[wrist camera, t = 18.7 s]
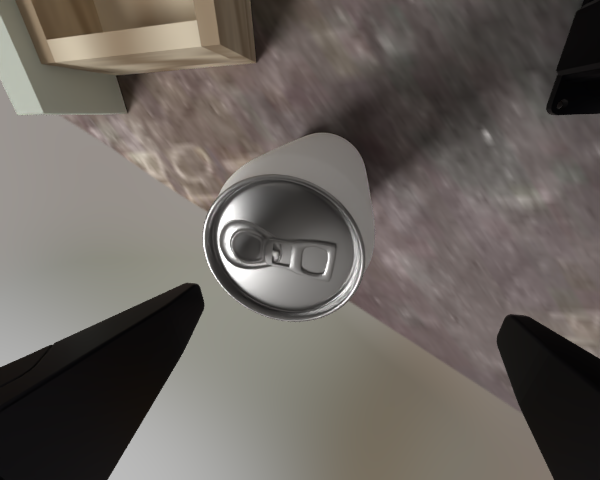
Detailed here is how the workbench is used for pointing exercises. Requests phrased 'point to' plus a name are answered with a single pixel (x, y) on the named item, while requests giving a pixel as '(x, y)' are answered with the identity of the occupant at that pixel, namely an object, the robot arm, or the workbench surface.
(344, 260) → the can
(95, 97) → the panel
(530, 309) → the workbench surface
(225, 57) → the wooden drawer box
